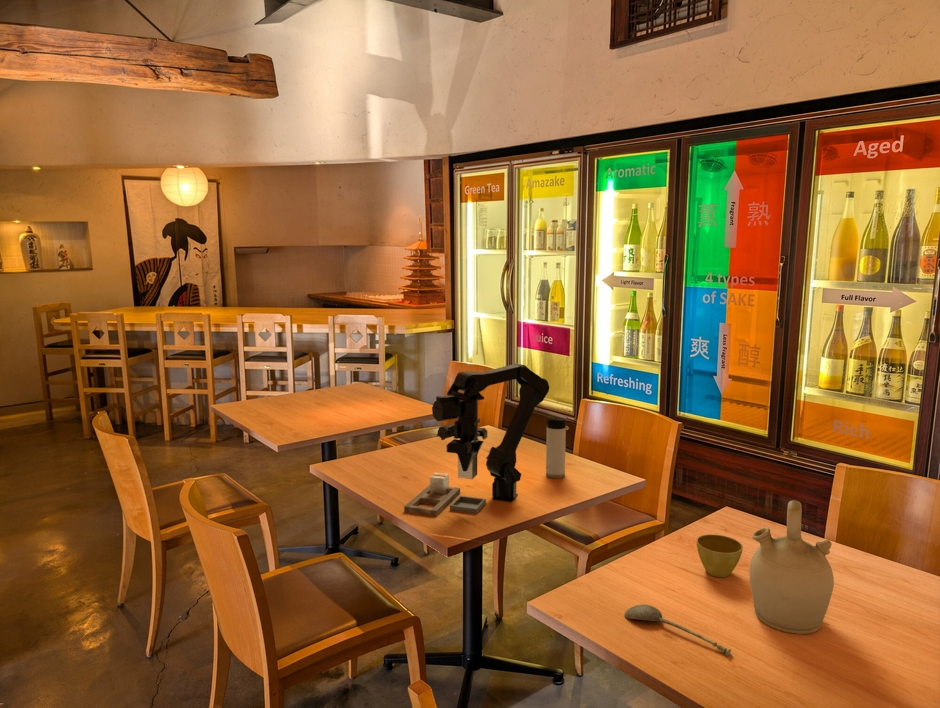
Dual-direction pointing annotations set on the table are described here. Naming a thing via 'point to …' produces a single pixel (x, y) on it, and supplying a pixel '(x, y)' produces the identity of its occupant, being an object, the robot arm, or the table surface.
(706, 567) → the flower pot
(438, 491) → the block
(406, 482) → the table surface
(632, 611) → the soupspoon
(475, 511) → the grey tray
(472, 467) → the block
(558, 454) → the travel mug
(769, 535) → the jug
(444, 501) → the grey flat frame
